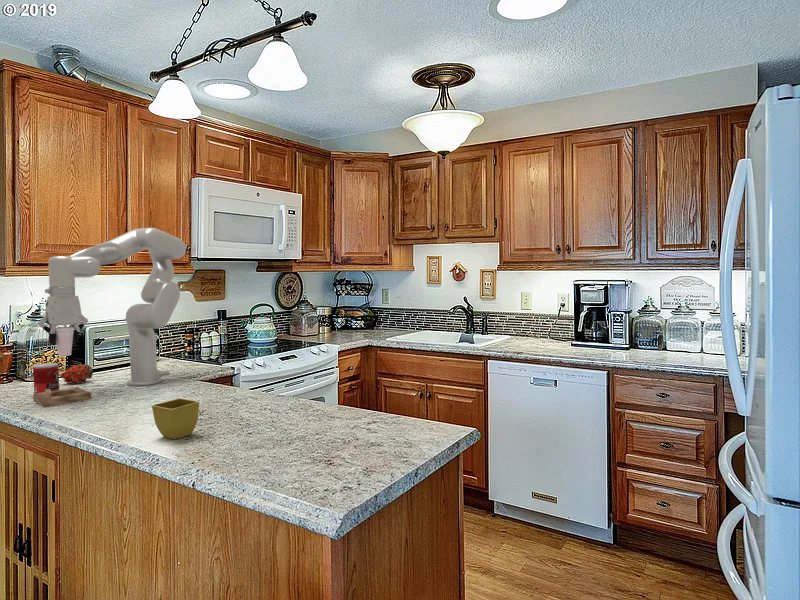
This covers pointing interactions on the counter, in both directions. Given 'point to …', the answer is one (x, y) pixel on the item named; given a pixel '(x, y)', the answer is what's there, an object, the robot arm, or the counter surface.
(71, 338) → the smoothie
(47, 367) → the canned food
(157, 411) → the flower pot
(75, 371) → the dragon fruit
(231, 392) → the counter surface
